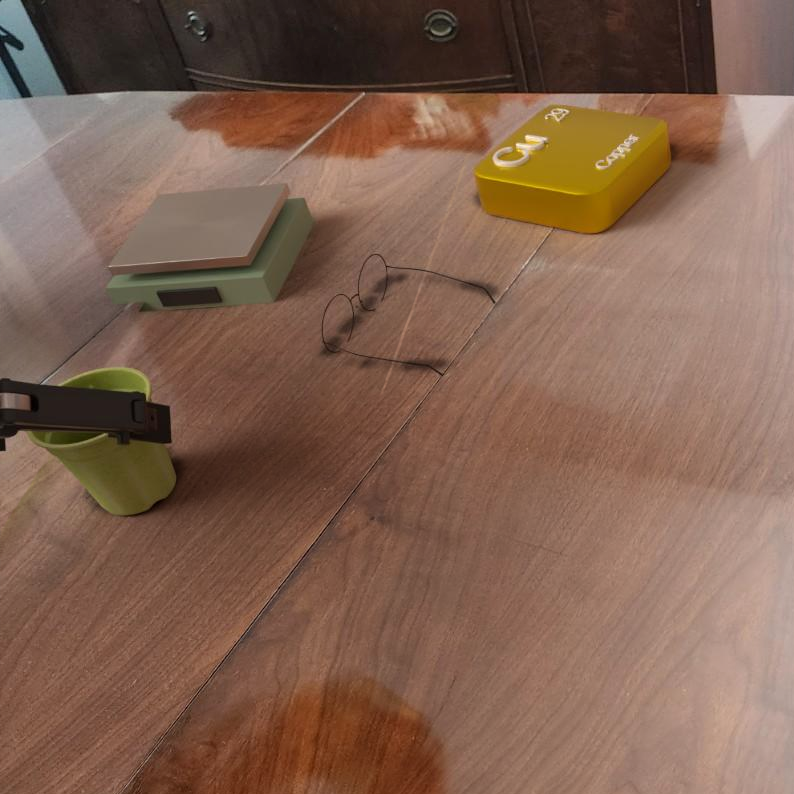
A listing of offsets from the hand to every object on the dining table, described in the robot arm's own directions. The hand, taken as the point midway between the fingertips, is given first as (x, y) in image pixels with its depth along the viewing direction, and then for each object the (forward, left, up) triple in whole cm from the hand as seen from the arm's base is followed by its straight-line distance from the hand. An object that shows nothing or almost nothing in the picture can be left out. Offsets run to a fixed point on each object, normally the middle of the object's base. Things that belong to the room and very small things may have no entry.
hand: (82, 429), depth 83 cm
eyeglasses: (+19, +21, -8) cm, 29 cm away
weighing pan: (-4, +34, -4) cm, 34 cm away
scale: (-4, +34, -8) cm, 35 cm away
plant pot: (0, +2, -8) cm, 8 cm away
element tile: (+31, +44, -8) cm, 54 cm away
